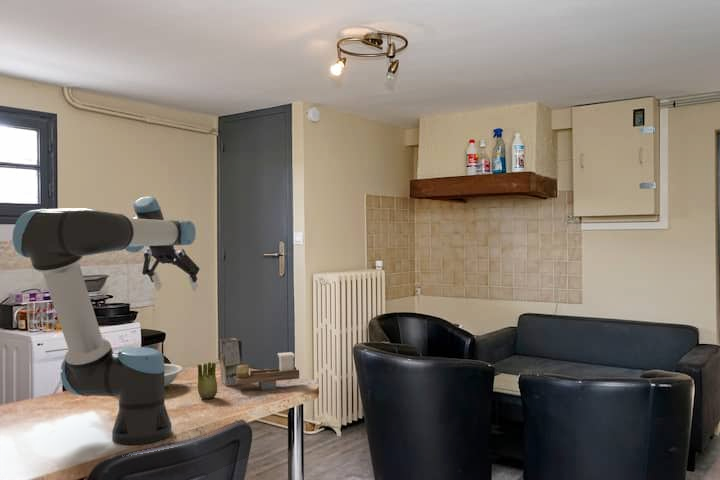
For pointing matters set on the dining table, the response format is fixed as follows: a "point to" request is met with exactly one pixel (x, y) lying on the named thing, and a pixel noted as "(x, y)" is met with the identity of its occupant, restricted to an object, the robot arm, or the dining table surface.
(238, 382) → the beam
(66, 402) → the dining table surface
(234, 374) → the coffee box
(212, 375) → the fennel bulb
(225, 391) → the dining table surface
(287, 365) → the white rounded block
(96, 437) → the dining table surface
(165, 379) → the soup bowl
